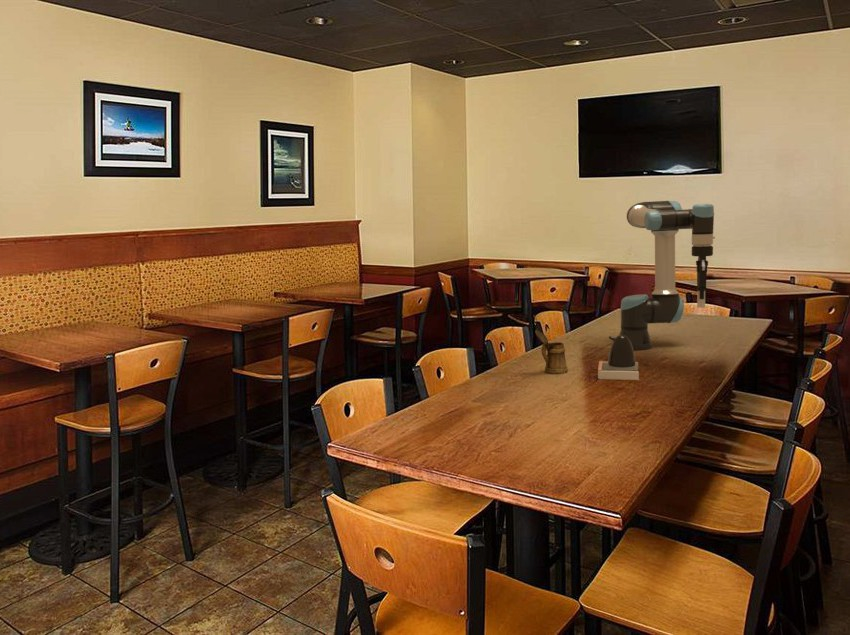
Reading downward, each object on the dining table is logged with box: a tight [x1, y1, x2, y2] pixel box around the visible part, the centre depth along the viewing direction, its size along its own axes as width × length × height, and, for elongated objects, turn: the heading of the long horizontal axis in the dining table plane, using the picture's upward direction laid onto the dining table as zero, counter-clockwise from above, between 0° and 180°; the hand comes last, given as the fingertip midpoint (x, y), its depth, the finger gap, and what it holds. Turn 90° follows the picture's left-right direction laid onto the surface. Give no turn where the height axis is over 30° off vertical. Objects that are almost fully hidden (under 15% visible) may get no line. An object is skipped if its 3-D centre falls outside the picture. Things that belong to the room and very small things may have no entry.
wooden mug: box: [534, 328, 569, 374], centre depth 282 cm, size 9×14×18 cm, turn 112°
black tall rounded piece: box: [607, 334, 636, 371], centre depth 276 cm, size 10×10×15 cm
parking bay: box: [597, 360, 640, 381], centre depth 276 cm, size 16×15×3 cm
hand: (701, 307), depth 275 cm, fingers closed
